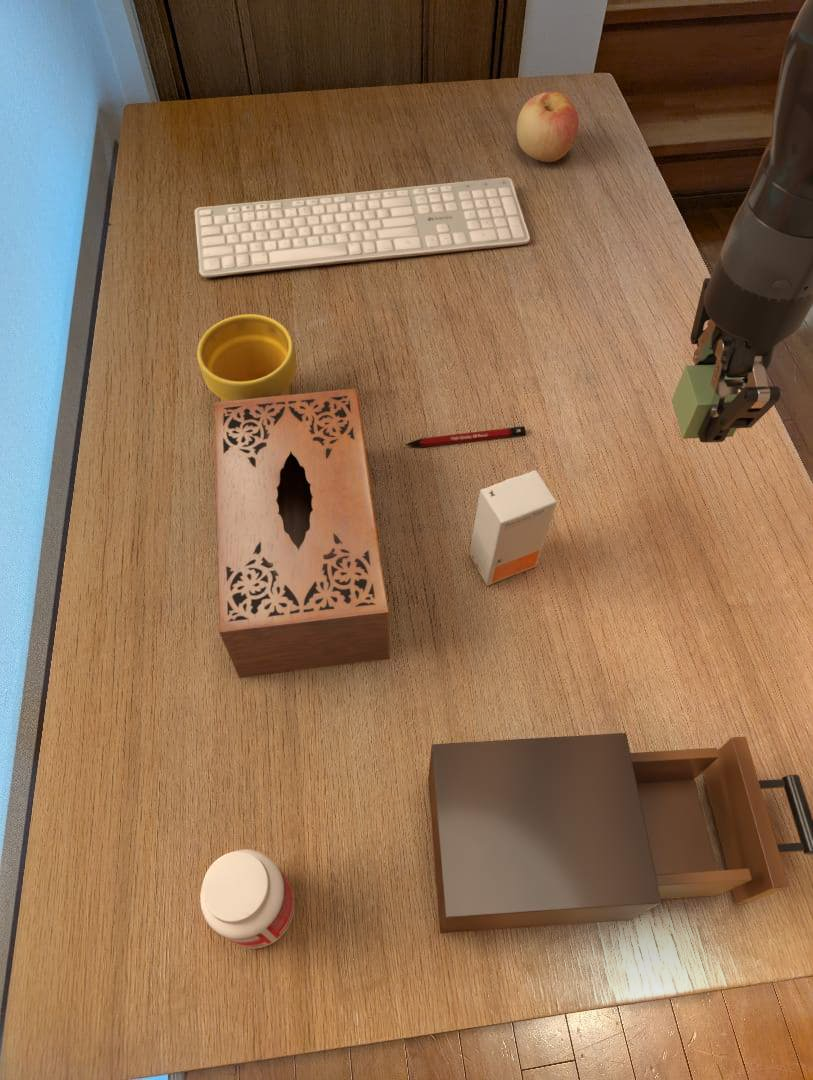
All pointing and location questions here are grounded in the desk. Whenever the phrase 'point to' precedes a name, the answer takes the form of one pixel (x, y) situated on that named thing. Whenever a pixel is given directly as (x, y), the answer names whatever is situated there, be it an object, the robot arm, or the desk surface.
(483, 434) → the pencil
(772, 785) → the drawer
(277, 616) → the tissue box cover
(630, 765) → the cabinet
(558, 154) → the apple
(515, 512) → the cosmetic box
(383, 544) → the desk surface
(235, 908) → the pill bottle
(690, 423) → the block
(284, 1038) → the desk surface
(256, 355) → the flower pot
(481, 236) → the keyboard
